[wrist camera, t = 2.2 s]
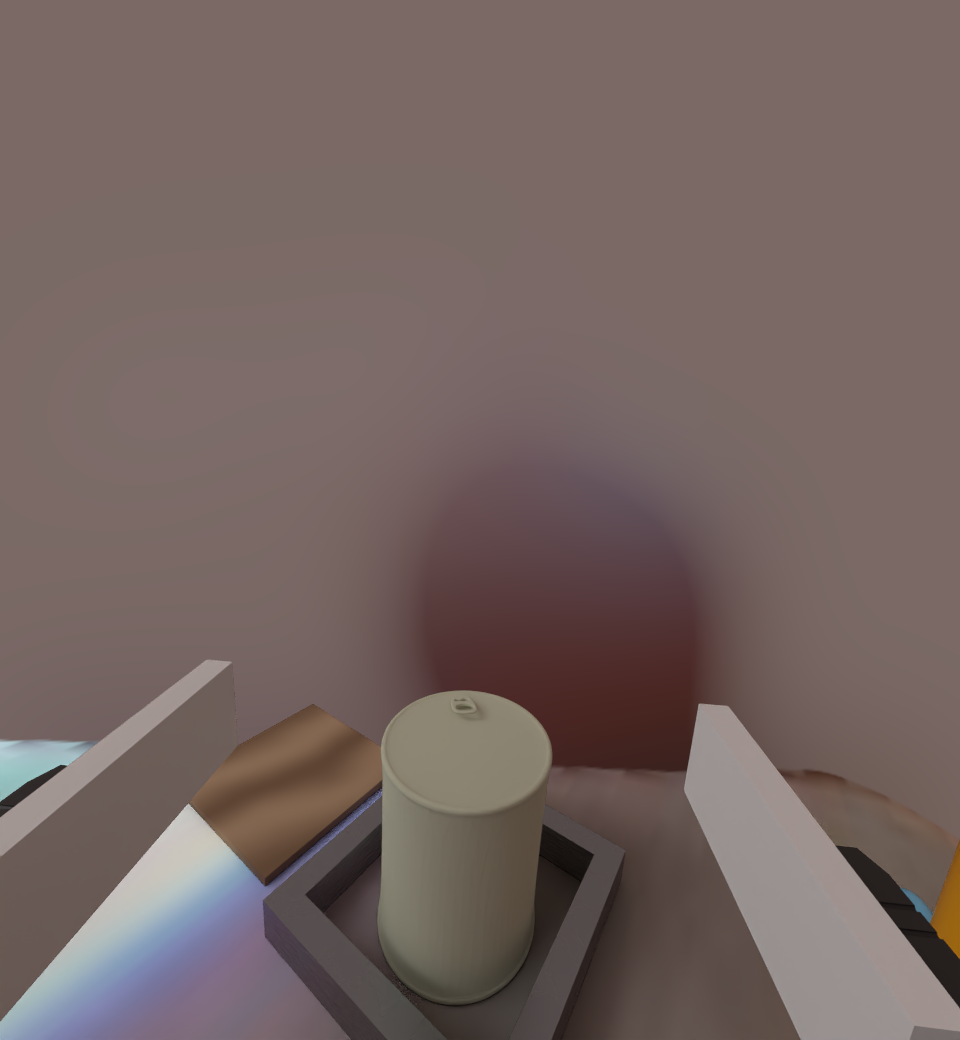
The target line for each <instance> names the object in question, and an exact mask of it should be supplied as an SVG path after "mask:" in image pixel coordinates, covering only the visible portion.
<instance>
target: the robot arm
mask: <svg viewBox="0 0 960 1040" xmlns="http://www.w3.org/2000/svg"><path fill="white" fill-rule="evenodd" d="M237 746H238V735H237V721H236V707H235V692H234V678H233V664H232V662H227V661H216V660H206V661H205V662H203V663H202V664H201V665H199V666H198V667H197V668H195V669H194V670H193V671H191V672H190V673H189V674H187V675H186V676H185V677H184V678H182V679H181V680H180V681H178V682H177V683H176V684H174V685H173V686H172V687H171V688H169V689H168V690H167V691H165V692H164V693H163V694H161V695H160V696H159V697H157V698H156V699H155V700H153V701H152V702H151V703H149V704H148V705H147V706H146V707H144V708H143V709H142V710H140V711H139V712H138V713H137V714H135V715H134V716H133V717H131V718H130V719H129V720H127V721H126V722H125V723H123V724H122V725H121V726H119V727H118V728H117V729H116V730H114V731H113V732H112V733H110V734H109V735H108V736H106V737H105V738H104V739H102V740H101V741H100V742H98V743H97V744H96V745H94V746H93V747H92V748H91V749H89V750H88V751H87V752H85V753H84V754H83V755H81V756H80V757H79V758H77V759H76V760H75V761H74V762H72V763H71V764H70V765H68V766H65V765H60V766H58V767H56V768H54V769H52V770H50V771H48V772H46V773H44V774H42V775H40V776H38V777H36V778H35V779H33V780H31V781H29V782H27V783H25V784H24V785H23V786H21V787H20V788H19V789H17V790H16V791H15V792H13V793H12V794H10V795H9V796H8V797H6V798H5V799H4V800H2V801H1V802H0V1021H1V1020H2V1019H3V1018H4V1016H5V1015H6V1014H7V1013H8V1012H9V1011H10V1010H11V1008H12V1007H13V1006H14V1005H15V1004H16V1003H17V1001H18V1000H19V999H20V998H21V997H22V996H23V994H24V993H25V992H26V991H27V990H28V989H29V987H30V986H31V985H32V984H33V983H34V982H35V980H36V979H37V978H38V977H39V976H40V975H41V974H42V972H43V971H44V970H45V969H46V968H47V967H48V965H49V964H50V963H51V962H52V961H53V960H54V958H55V957H56V956H57V955H58V954H59V953H60V951H61V950H62V949H63V948H64V947H65V946H66V944H67V943H68V942H69V941H70V940H71V939H72V938H73V936H74V935H75V934H76V933H77V932H78V931H79V929H80V928H81V927H82V926H83V925H84V924H85V922H86V921H87V920H88V919H89V918H90V917H91V915H92V914H93V913H94V912H95V911H96V910H97V908H98V907H99V906H100V905H101V904H102V903H103V902H104V900H105V899H106V898H107V897H108V896H109V895H110V893H111V892H112V891H113V890H114V889H115V888H116V886H117V885H118V884H119V883H120V882H121V881H122V879H123V878H124V877H125V876H126V875H127V874H128V873H129V871H130V870H131V869H132V868H133V867H134V866H135V864H136V863H137V862H138V861H139V860H140V859H141V857H142V856H143V855H144V854H145V853H146V852H147V850H148V849H149V848H150V847H151V846H152V845H153V843H154V842H155V841H156V840H157V839H158V838H159V837H160V835H161V834H162V833H163V832H164V831H165V830H166V828H167V827H168V826H169V825H170V824H171V823H172V821H173V820H174V819H175V818H176V817H177V816H178V814H179V813H180V812H181V811H182V810H183V809H184V807H185V806H186V805H187V804H188V803H189V802H190V801H191V799H192V798H193V797H194V796H195V795H196V794H197V792H198V791H199V790H200V789H201V788H202V787H203V785H204V784H205V783H206V782H207V781H208V780H209V778H210V777H211V776H212V775H213V774H214V773H215V771H216V770H217V769H218V768H219V767H220V766H221V765H222V763H223V762H224V761H225V760H226V759H227V758H228V756H229V755H230V754H231V753H232V752H233V751H234V749H235V748H236V747H237ZM684 791H685V794H686V796H687V798H688V800H689V802H690V804H691V806H692V808H693V811H694V813H695V815H696V817H697V819H698V821H699V823H700V826H701V828H702V830H703V832H704V834H705V836H706V838H707V840H708V843H709V845H710V847H711V849H712V851H713V853H714V855H715V858H716V860H717V862H718V864H719V866H720V868H721V870H722V872H723V875H724V877H725V879H726V881H727V883H728V885H729V887H730V890H731V892H732V894H733V896H734V898H735V900H736V902H737V905H738V907H739V909H740V911H741V913H742V915H743V917H744V919H745V922H746V924H747V926H748V928H749V930H750V932H751V934H752V937H753V939H754V941H755V943H756V945H757V947H758V949H759V951H760V954H761V956H762V958H763V960H764V962H765V964H766V966H767V969H768V971H769V973H770V975H771V977H772V979H773V981H774V984H775V986H776V988H777V990H778V992H779V994H780V996H781V998H782V1001H783V1003H784V1005H785V1007H786V1009H787V1011H788V1013H789V1016H790V1018H791V1020H792V1022H793V1024H794V1026H795V1028H796V1030H797V1033H798V1035H799V1037H800V1039H801V1040H960V959H959V958H958V956H957V955H956V954H955V953H954V952H953V950H952V949H951V948H950V947H949V946H948V944H947V943H946V942H945V941H944V940H943V939H940V938H939V937H938V935H937V931H936V930H935V929H934V928H933V927H932V925H931V924H930V923H929V922H928V921H927V919H926V918H925V917H924V916H923V915H922V913H921V912H917V911H916V909H915V905H914V904H913V903H912V901H911V900H910V899H909V898H908V897H907V896H906V894H905V893H904V892H903V891H902V890H901V888H900V887H899V886H898V885H897V884H896V882H895V881H894V880H893V879H892V878H891V876H890V875H889V874H888V873H886V872H885V871H884V870H883V869H882V868H880V867H879V866H878V865H877V864H876V863H874V862H873V861H872V860H871V859H869V858H868V857H867V856H866V855H865V854H863V853H862V852H861V851H860V850H859V849H857V848H853V847H843V846H835V845H834V844H833V842H832V841H831V840H830V838H829V837H828V836H827V834H826V833H825V832H824V831H823V829H822V828H821V827H820V825H819V824H818V823H817V821H816V820H815V819H814V818H813V816H812V815H811V814H810V812H809V811H808V810H807V808H806V807H805V806H804V804H803V803H802V802H801V801H800V799H799V798H798V797H797V795H796V794H795V793H794V791H793V790H792V789H791V788H790V786H789V785H788V784H787V782H786V781H785V780H784V778H783V777H782V776H781V774H780V773H779V772H778V771H777V769H776V768H775V767H774V766H773V764H772V763H771V762H770V760H769V759H768V758H767V756H766V755H765V754H764V752H763V751H762V750H761V749H760V747H759V746H758V744H757V743H756V742H755V741H754V739H753V738H752V737H751V735H750V734H749V733H748V731H747V730H746V729H745V728H744V726H743V725H742V724H741V722H740V721H739V720H738V718H737V717H736V716H735V714H734V713H733V712H732V711H731V709H730V708H729V707H728V706H719V705H709V704H699V707H698V712H697V719H696V724H695V730H694V735H693V741H692V747H691V752H690V758H689V764H688V769H687V775H686V781H685V786H684Z"/></svg>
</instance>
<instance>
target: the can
mask: <svg viewBox="0 0 960 1040" xmlns="http://www.w3.org/2000/svg"><path fill="white" fill-rule="evenodd" d="M381 759H382V774H383V789H382V866H381V894H380V899H379V904H378V914H377V927H378V935H379V940H380V944H381V948H382V951H383V953H384V956H385V958H386V960H387V962H388V964H389V966H390V967H391V969H392V971H393V972H394V973H395V975H396V976H397V977H398V979H399V980H400V981H401V982H402V983H403V984H404V985H405V986H406V987H408V988H409V989H410V990H412V991H413V992H415V993H416V994H417V995H419V996H421V997H423V998H425V999H427V1000H430V1001H432V1002H436V1003H440V1004H446V1005H466V1004H471V1003H475V1002H478V1001H480V1000H483V999H486V998H488V997H490V996H491V995H493V994H495V993H497V992H498V991H500V990H501V989H502V988H503V987H505V986H506V985H507V984H508V983H509V982H510V981H511V980H512V979H513V978H514V976H515V975H516V974H517V972H518V971H519V969H520V968H521V966H522V964H523V963H524V961H525V959H526V957H527V955H528V952H529V949H530V946H531V943H532V938H533V934H534V925H535V911H534V899H535V888H536V878H537V868H538V860H539V851H540V842H541V833H542V824H543V816H544V808H545V800H546V792H547V784H548V777H549V772H550V769H551V765H552V748H551V743H550V740H549V738H548V735H547V733H546V731H545V729H544V728H543V727H542V725H541V724H540V722H539V721H538V720H537V719H536V718H535V717H534V716H533V715H532V714H531V713H529V712H528V711H527V710H525V709H524V708H522V707H521V706H519V705H518V704H516V703H514V702H512V701H510V700H507V699H505V698H502V697H499V696H496V695H493V694H489V693H484V692H477V691H449V692H443V693H437V694H434V695H430V696H427V697H424V698H422V699H420V700H417V701H415V702H413V703H411V704H410V705H408V706H407V707H405V708H404V709H403V710H401V711H400V712H399V713H398V714H397V715H396V716H395V717H394V718H393V719H392V721H391V722H390V723H389V725H388V727H387V729H386V730H385V733H384V735H383V739H382V744H381Z"/></svg>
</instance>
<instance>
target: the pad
mask: <svg viewBox="0 0 960 1040" xmlns="http://www.w3.org/2000/svg"><path fill="white" fill-rule="evenodd" d="M382 786H383V774H382V759H381V746H379V745H377V744H376V743H374V742H372V741H371V740H369V739H368V738H366V737H364V736H363V735H362V734H360V733H358V732H356V731H355V730H354V729H352V728H350V727H349V726H347V725H346V724H344V723H342V722H341V721H339V720H338V719H336V718H335V717H333V716H331V715H330V714H328V713H327V712H325V711H324V710H322V709H320V708H319V707H317V706H315V705H314V704H312V705H310V706H308V707H307V708H305V709H303V710H301V711H299V712H298V713H296V714H294V715H292V716H291V717H289V718H287V719H285V720H283V721H281V722H280V723H278V724H276V725H274V726H273V727H271V728H269V729H267V730H265V731H264V732H262V733H260V734H258V735H256V736H255V737H253V738H251V739H249V740H247V741H246V742H244V743H242V744H240V745H238V746H237V747H236V748H235V749H234V751H233V752H232V753H231V754H230V755H229V756H228V758H227V759H226V760H225V761H224V762H223V763H222V765H221V766H220V767H219V768H218V769H217V770H216V771H215V773H214V774H213V775H212V776H211V777H210V778H209V780H208V781H207V782H206V783H205V784H204V785H203V787H202V788H201V789H200V790H199V791H198V792H197V794H196V795H195V796H194V797H193V798H192V799H191V801H190V802H189V804H190V805H191V806H192V807H193V808H194V810H195V811H196V812H197V813H198V814H199V815H200V816H201V817H202V818H203V819H204V820H205V821H206V823H207V824H208V825H209V826H210V827H211V828H212V829H213V830H214V831H215V832H216V833H217V834H218V836H219V837H220V838H221V839H222V840H223V841H224V842H225V843H226V844H227V845H228V846H229V847H230V849H231V850H232V851H233V852H234V853H235V854H236V855H237V856H238V857H239V858H240V859H241V860H242V861H243V863H244V864H245V865H246V866H247V867H248V868H249V869H250V870H251V871H252V872H253V873H254V874H255V876H256V877H257V878H258V879H259V880H260V881H261V882H262V883H263V884H264V885H265V886H266V885H267V884H268V883H270V882H271V881H272V880H273V879H274V878H275V877H277V876H278V875H279V874H280V873H281V872H282V871H284V870H285V869H286V868H287V867H288V866H289V865H291V864H292V863H293V862H294V861H295V860H296V859H298V858H299V857H300V856H301V855H302V854H303V853H305V852H306V851H307V850H308V849H309V848H311V847H312V846H313V845H314V844H315V843H316V842H318V841H319V840H320V839H321V838H322V837H323V836H325V835H326V834H327V833H328V832H329V831H330V830H332V829H333V828H334V827H335V826H336V825H337V824H339V823H340V822H341V821H342V820H343V819H344V818H346V817H347V816H348V815H349V814H350V813H351V812H353V811H354V810H355V809H356V808H357V807H358V806H360V805H361V804H362V803H363V802H364V801H365V800H367V799H368V798H369V797H370V796H371V795H373V794H374V793H375V792H376V791H377V790H378V789H380V788H381V787H382Z"/></svg>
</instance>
